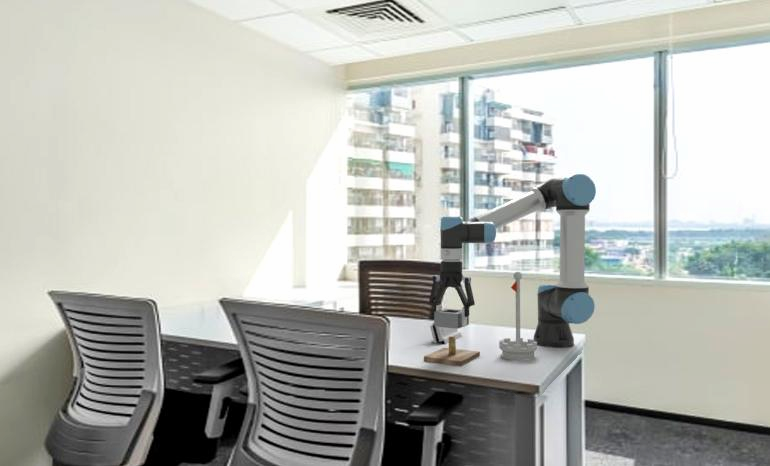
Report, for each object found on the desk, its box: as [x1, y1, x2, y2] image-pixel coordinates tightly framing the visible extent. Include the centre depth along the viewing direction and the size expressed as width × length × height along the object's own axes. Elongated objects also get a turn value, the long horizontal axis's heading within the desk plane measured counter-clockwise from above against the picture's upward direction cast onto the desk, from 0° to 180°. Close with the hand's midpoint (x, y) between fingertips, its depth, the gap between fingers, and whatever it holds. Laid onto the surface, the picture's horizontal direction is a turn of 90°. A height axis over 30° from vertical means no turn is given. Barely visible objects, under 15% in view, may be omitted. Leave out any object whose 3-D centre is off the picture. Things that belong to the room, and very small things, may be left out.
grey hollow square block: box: [433, 308, 470, 330], centre depth 203 cm, size 9×9×5 cm
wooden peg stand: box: [423, 336, 481, 367], centre depth 203 cm, size 14×16×8 cm
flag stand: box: [498, 271, 538, 361], centre depth 205 cm, size 13×13×30 cm
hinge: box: [429, 321, 463, 345], centre depth 236 cm, size 17×5×10 cm, turn 149°
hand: (451, 324), depth 203 cm, fingers closed on grey hollow square block, 9 cm apart
